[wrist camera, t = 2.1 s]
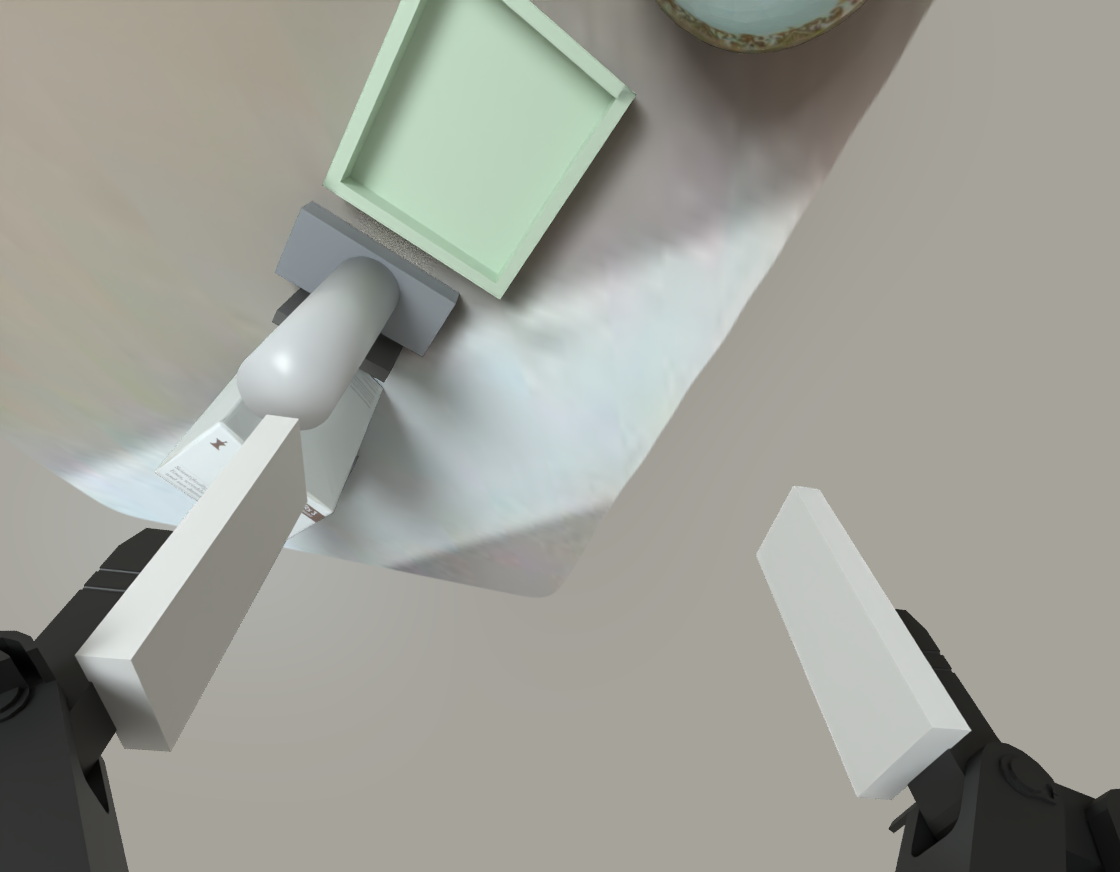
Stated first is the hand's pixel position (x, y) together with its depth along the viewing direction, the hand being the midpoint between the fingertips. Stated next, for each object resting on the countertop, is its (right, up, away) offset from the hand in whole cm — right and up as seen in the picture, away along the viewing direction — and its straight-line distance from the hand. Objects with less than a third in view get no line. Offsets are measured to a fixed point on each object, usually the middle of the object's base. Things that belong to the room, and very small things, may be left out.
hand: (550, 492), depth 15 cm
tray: (-5, +20, +19) cm, 28 cm away
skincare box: (-18, +7, +29) cm, 35 cm away
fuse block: (-18, +7, +28) cm, 34 cm away
